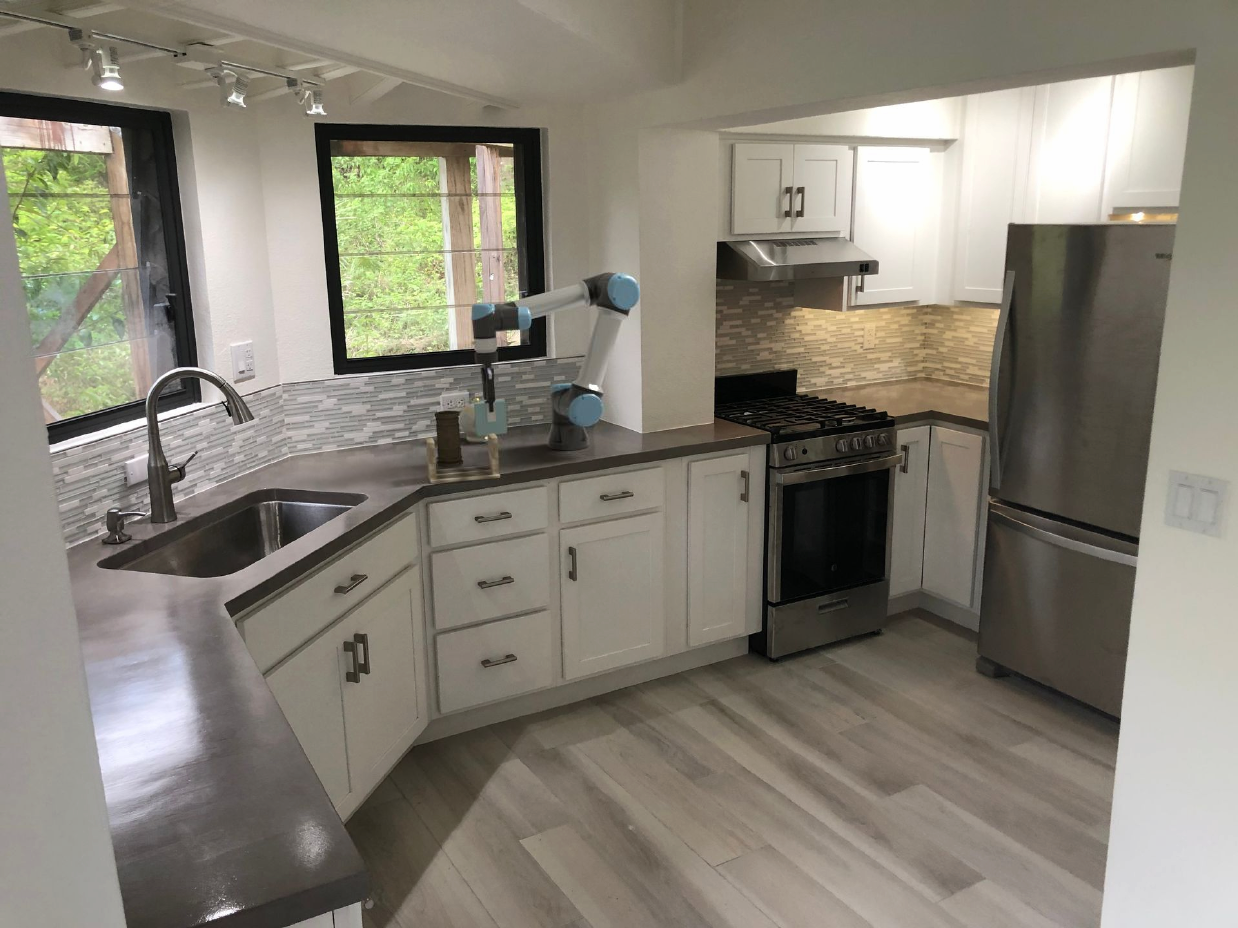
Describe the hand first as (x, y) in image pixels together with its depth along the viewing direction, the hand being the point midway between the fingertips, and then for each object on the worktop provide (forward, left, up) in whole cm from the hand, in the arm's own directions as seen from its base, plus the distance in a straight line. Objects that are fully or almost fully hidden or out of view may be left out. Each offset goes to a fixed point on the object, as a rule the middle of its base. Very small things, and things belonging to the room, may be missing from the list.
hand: (490, 420), depth 326 cm
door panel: (0, 0, -5) cm, 5 cm away
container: (+14, -4, -15) cm, 21 cm away
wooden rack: (+12, +13, -15) cm, 23 cm away
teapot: (-1, -37, -15) cm, 40 cm away
